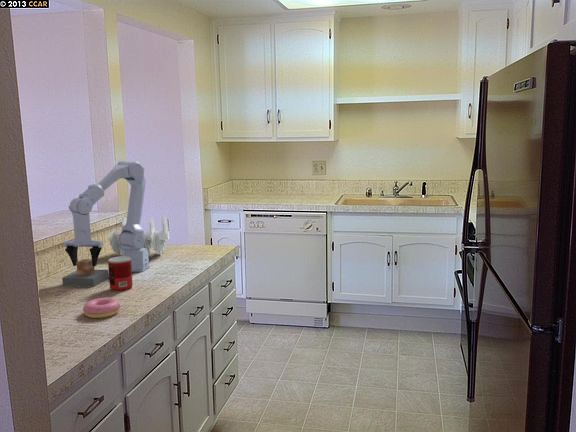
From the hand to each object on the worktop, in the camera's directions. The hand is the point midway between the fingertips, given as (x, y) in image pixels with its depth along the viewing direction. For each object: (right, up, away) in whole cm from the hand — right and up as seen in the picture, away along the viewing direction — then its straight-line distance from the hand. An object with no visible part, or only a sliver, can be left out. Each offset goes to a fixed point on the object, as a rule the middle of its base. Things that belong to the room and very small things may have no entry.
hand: (85, 265), depth 194 cm
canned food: (+16, -8, -8) cm, 19 cm away
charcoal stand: (0, -6, +1) cm, 6 cm away
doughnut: (+18, -12, -33) cm, 39 cm away
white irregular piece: (+10, +1, +42) cm, 43 cm away
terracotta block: (0, -3, +1) cm, 3 cm away
